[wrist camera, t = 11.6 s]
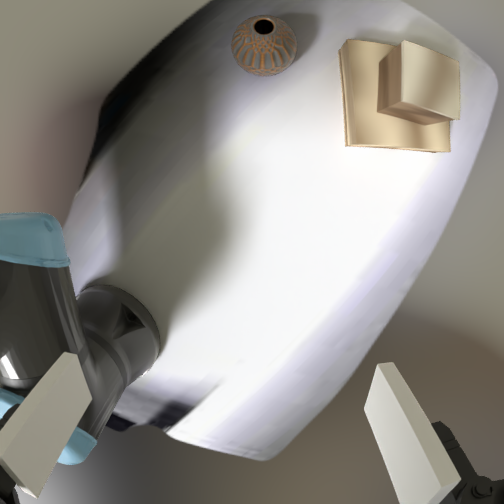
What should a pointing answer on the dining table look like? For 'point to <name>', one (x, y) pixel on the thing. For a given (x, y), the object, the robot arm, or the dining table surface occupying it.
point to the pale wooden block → (419, 85)
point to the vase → (264, 45)
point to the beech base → (365, 106)
